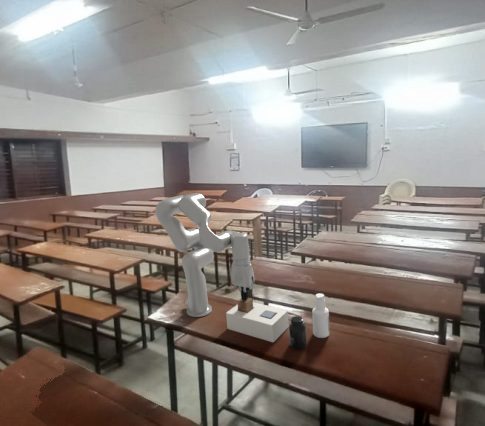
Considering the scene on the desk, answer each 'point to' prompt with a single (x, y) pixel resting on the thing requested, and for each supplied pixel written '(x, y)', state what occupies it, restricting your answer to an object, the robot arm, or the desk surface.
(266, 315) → the slate peg
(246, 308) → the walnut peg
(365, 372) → the desk surface
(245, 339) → the desk surface
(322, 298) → the spray bottle
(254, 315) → the peg board
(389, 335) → the desk surface
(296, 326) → the supplement bottle
